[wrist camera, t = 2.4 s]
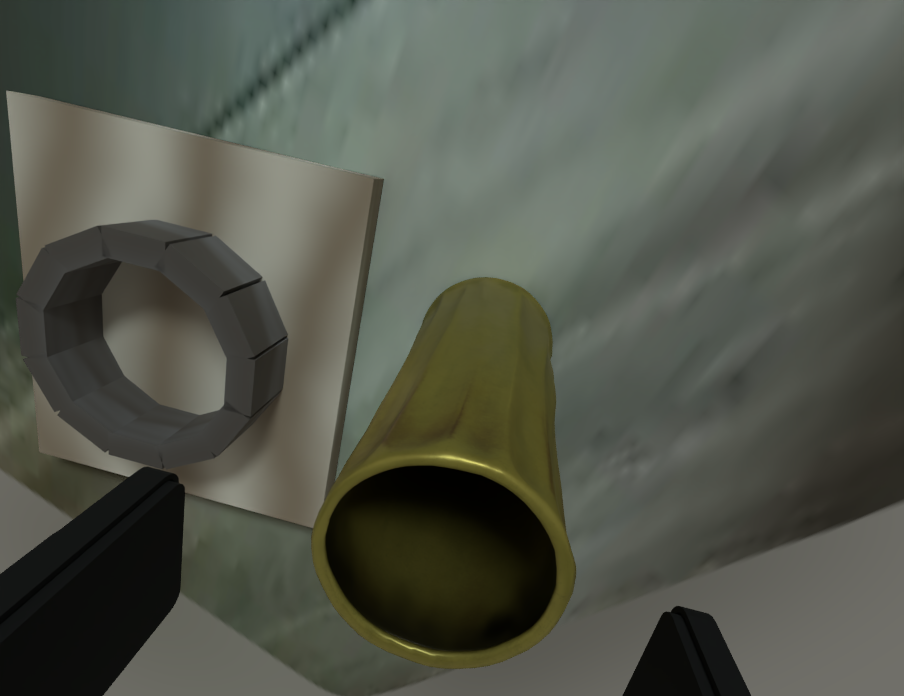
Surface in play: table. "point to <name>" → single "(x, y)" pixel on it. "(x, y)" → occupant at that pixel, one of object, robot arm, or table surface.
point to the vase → (456, 492)
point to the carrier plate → (188, 303)
